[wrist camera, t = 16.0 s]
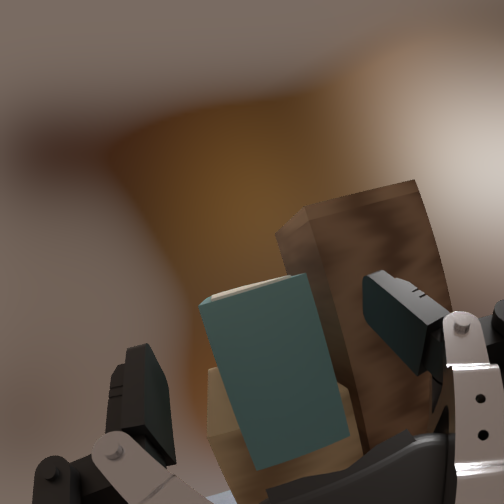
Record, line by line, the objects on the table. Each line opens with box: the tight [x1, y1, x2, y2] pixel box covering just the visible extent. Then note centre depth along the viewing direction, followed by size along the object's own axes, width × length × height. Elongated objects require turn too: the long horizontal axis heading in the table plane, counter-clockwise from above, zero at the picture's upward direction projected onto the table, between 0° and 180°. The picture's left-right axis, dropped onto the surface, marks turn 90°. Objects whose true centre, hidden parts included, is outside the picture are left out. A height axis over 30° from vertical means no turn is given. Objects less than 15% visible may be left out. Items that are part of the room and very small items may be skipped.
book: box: [198, 273, 350, 471], centre depth 21 cm, size 4×21×7 cm, turn 7°
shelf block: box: [207, 367, 363, 504], centre depth 22 cm, size 8×16×21 cm, turn 7°
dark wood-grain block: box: [275, 180, 453, 456], centre depth 25 cm, size 10×10×32 cm
